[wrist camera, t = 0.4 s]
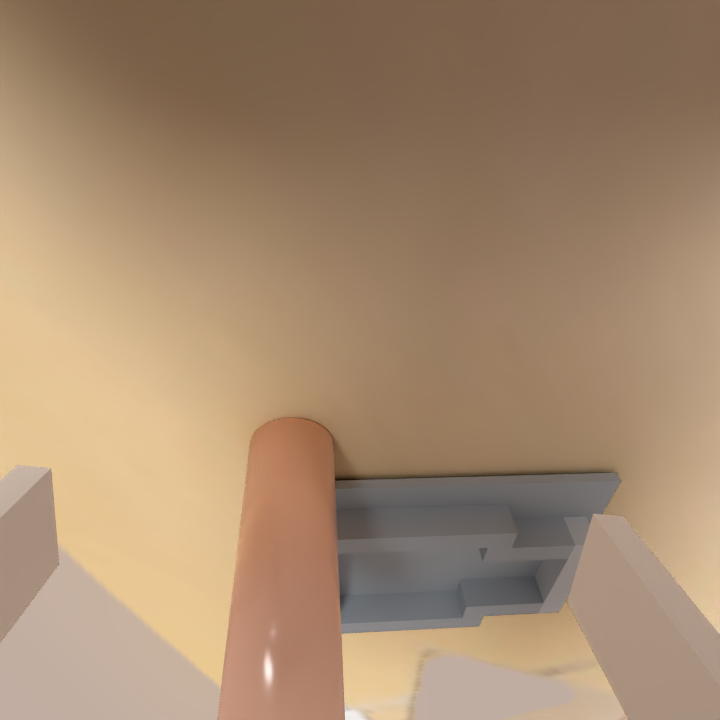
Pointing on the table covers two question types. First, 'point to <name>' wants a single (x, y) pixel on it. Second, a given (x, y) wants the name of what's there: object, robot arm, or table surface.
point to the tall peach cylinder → (286, 582)
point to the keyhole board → (460, 547)
